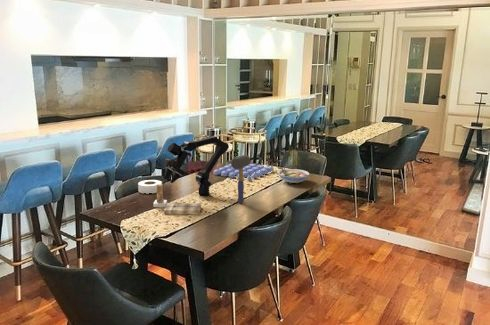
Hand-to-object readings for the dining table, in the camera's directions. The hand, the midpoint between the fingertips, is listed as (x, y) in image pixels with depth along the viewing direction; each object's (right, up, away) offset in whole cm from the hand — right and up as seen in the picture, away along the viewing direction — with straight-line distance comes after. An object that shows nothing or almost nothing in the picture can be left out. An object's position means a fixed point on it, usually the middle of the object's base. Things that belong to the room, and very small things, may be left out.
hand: (167, 181), depth 248 cm
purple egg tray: (+46, +2, +70) cm, 84 cm away
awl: (-4, -14, -5) cm, 16 cm away
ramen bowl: (+84, -3, +46) cm, 96 cm away
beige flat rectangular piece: (+11, -17, -13) cm, 24 cm away
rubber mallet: (+45, -14, +1) cm, 47 cm away
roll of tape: (-17, -8, +26) cm, 32 cm away
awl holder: (-4, -15, -5) cm, 16 cm away
